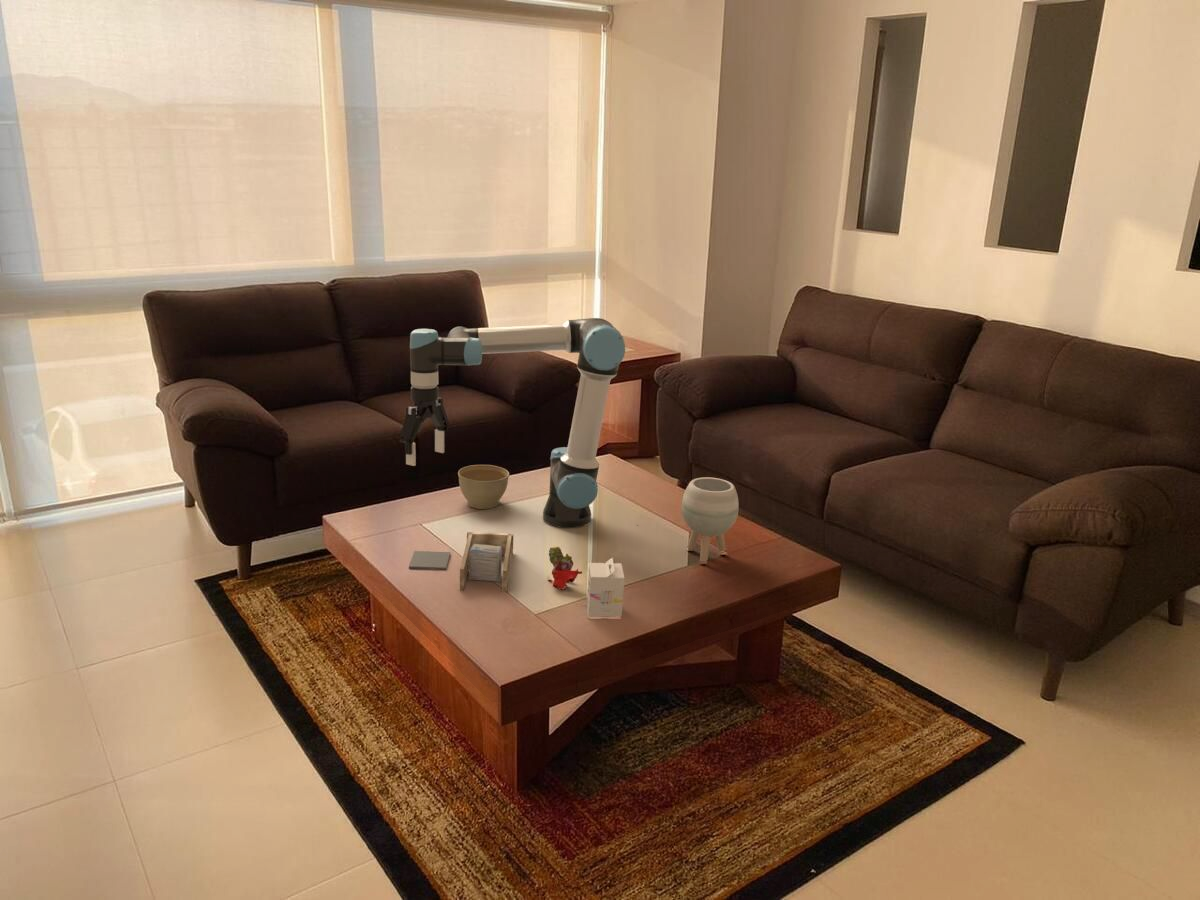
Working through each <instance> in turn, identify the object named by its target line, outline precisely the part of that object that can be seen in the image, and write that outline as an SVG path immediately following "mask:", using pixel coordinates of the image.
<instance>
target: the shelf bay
mask: <svg viewBox="0 0 1200 900" xmlns="http://www.w3.org/2000/svg"><path fill="white" fill-rule="evenodd" d="M473 544H480V545H492V546H501V547H502V555H504V559H503V560H504V561H503V565H502V586H501V588H502V589H501V590H502V592H503V593H507V589H508V588H507V587H508V580H509V572H510V566H511V557H512V556H513V554H514V533H501V532H500V533H497V532H470V531H469V532H466V543H465V547H464V551H463V556H462V560H461V564H460V567H459V591H462V592H463V591H464V590H465V586H466V581H467V578H468V577H467V576H468V572H469V570H470V549H471V548H472V546H473Z"/></svg>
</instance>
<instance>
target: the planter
mask: <svg viewBox="0 0 1200 900" xmlns="http://www.w3.org/2000/svg"><path fill="white" fill-rule="evenodd" d="M738 515H739V496H738V493H737V490H736V487H735V485H734V484H733V483H732V482H730V481H728V480H725V479H722V478H716V477H708V476H707V477H698V478H697V477H696V478H694V479H691V481H689V483H688V484H687V486H686V488H685V490H684V493H683V496H682V501H681V516H682V518H683V521H684V523H685V524H686V525H687V526H688V527H689V528H690V530H691V534H690V537H689V539H688V542H687V545H686V549H687V548H688V549H695V547H696V545H697V543H698V540H699V538H700V535H701V542H700V552H699V553H700V555H699V562H700V561H704V562H705V561H707V560H709V553H710V547H711V539H712V537H714V538H715V542H716V546H717V549H718V550H719V551H724V550H726V551H727V549H726V548H727V547H726V541H725V532H727V531H728V530H729V529H731V528H732V527H733V525H734V524H735V523H736V521H737V518H738ZM718 550H717V551H718ZM719 551H718V552H719ZM707 562H708V561H707Z"/></svg>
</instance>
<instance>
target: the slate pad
mask: <svg viewBox="0 0 1200 900" xmlns="http://www.w3.org/2000/svg"><path fill="white" fill-rule="evenodd" d="M450 556H451V552H449V551H429V550H428V551H425V550H423V551H422V550H420V551H419V550H414V551H413V553H412V557H411V559H410V562H409V564H408V569H415V570H416V569H420V570H445V571H446V570H447V568H448V564H449V560H450Z"/></svg>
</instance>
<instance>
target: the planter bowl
mask: <svg viewBox="0 0 1200 900" xmlns="http://www.w3.org/2000/svg"><path fill="white" fill-rule="evenodd" d="M457 475H458V484H459V488H460V492H461V493H462V494H463V497H464V498H465V499H466V501H467V504H468V506H469V507H472V508H473V509H479V510H480V509H482V510H486V509H493V508H495V507H497V506H498V503H499V501H500V500H501V499H502V497H503V496H504V494H505V492H506V491H507V487H508V484H509V483H508V482H509V477H510V472H509V471H508V470H507V469H506V468H503V467H500V466H497V465H492V464H473V465H468V466H464V467H462V468H460V469H459V470H458V472H457Z"/></svg>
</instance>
